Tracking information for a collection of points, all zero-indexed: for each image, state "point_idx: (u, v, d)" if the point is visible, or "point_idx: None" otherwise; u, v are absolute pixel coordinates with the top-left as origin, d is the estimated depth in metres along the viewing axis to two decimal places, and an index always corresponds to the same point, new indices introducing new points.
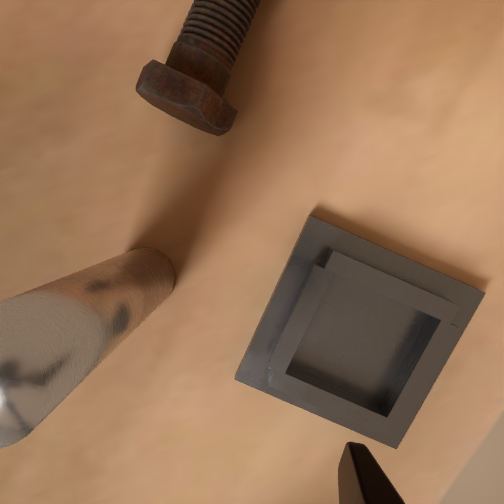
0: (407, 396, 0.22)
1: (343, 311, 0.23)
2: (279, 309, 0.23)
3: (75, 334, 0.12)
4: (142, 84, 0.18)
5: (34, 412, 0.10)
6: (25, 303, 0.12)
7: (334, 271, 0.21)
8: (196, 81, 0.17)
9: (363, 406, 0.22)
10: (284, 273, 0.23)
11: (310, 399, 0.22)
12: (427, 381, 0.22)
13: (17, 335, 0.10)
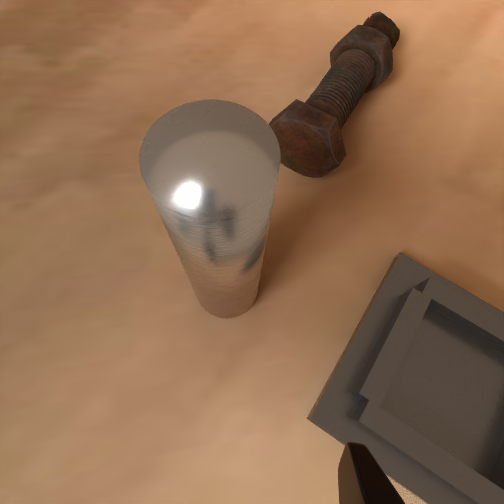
0: None
1: (435, 352, 0.21)
2: (368, 339, 0.21)
3: None
4: (284, 113, 0.23)
5: (261, 186, 0.10)
6: None
7: (432, 297, 0.21)
8: (329, 115, 0.23)
9: (475, 471, 0.18)
10: (374, 302, 0.22)
11: (410, 448, 0.18)
12: None
13: (263, 121, 0.11)
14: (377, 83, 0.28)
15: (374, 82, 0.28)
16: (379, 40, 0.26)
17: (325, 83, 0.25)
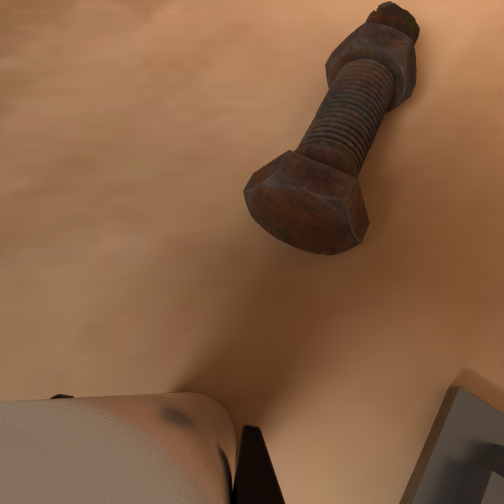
0: None
1: None
2: None
3: None
4: (272, 175, 0.14)
5: None
6: (111, 415, 0.04)
7: None
8: (343, 173, 0.14)
9: None
10: (422, 479, 0.14)
11: None
12: None
13: None
14: (396, 104, 0.20)
15: (392, 103, 0.20)
16: (399, 43, 0.18)
17: (327, 114, 0.17)
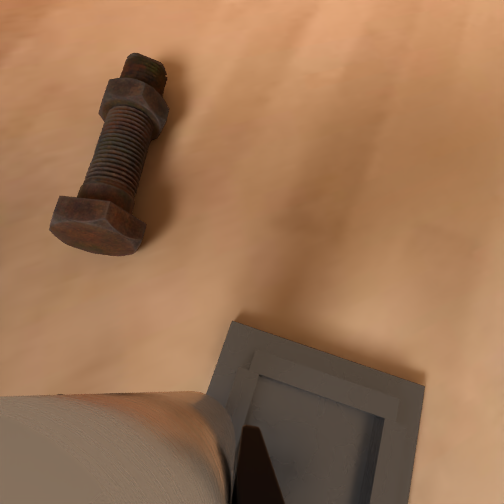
0: None
1: (279, 426, 0.20)
2: None
3: None
4: (52, 217, 0.20)
5: None
6: (109, 410, 0.04)
7: (259, 372, 0.20)
8: (100, 200, 0.20)
9: None
10: (209, 386, 0.21)
11: None
12: None
13: None
14: (160, 128, 0.26)
15: (156, 128, 0.26)
16: (136, 89, 0.24)
17: (95, 157, 0.23)
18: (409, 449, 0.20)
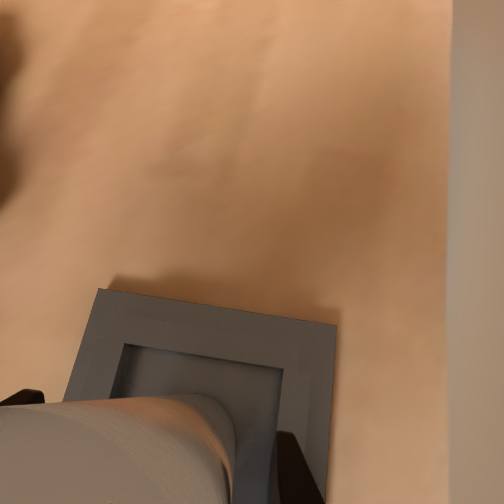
0: None
1: None
2: None
3: None
4: None
5: None
6: (135, 413, 0.05)
7: (125, 340, 0.16)
8: None
9: None
10: (73, 371, 0.16)
11: None
12: None
13: (169, 500, 0.03)
14: None
15: None
16: None
17: None
18: (324, 401, 0.16)
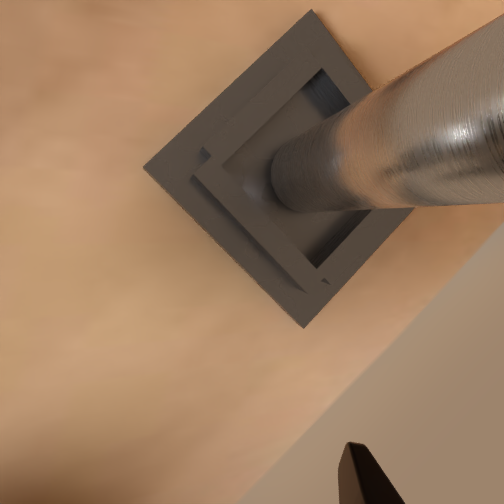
0: (345, 250, 0.18)
1: None
2: (237, 100, 0.18)
3: None
4: None
5: None
6: None
7: (323, 66, 0.17)
8: None
9: (295, 247, 0.18)
10: (258, 60, 0.18)
11: (239, 213, 0.17)
12: (370, 240, 0.19)
13: None
14: None
15: None
16: None
17: None
18: (397, 218, 0.21)
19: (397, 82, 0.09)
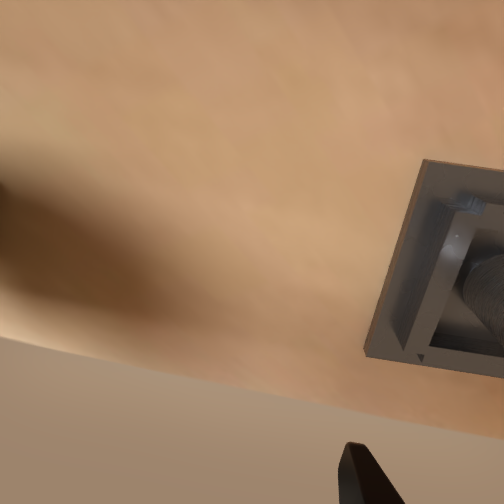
0: (458, 357, 0.20)
1: None
2: None
3: None
4: None
5: None
6: None
7: None
8: None
9: (436, 320, 0.19)
10: None
11: (442, 265, 0.18)
12: (479, 370, 0.20)
13: None
14: None
15: None
16: None
17: None
18: None
19: None
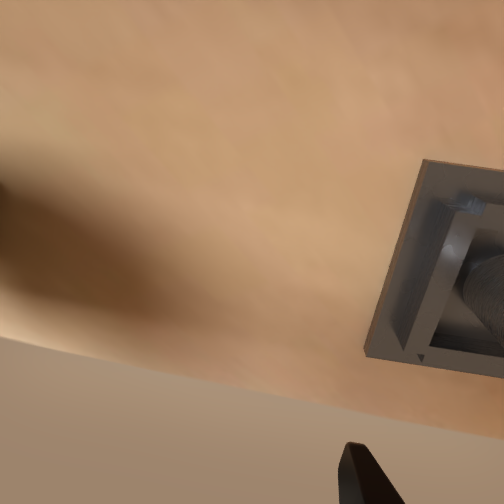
0: (458, 358, 0.20)
1: None
2: None
3: None
4: None
5: None
6: None
7: None
8: None
9: (436, 320, 0.19)
10: None
11: (442, 265, 0.18)
12: (479, 370, 0.20)
13: None
14: None
15: None
16: None
17: None
18: None
19: None
